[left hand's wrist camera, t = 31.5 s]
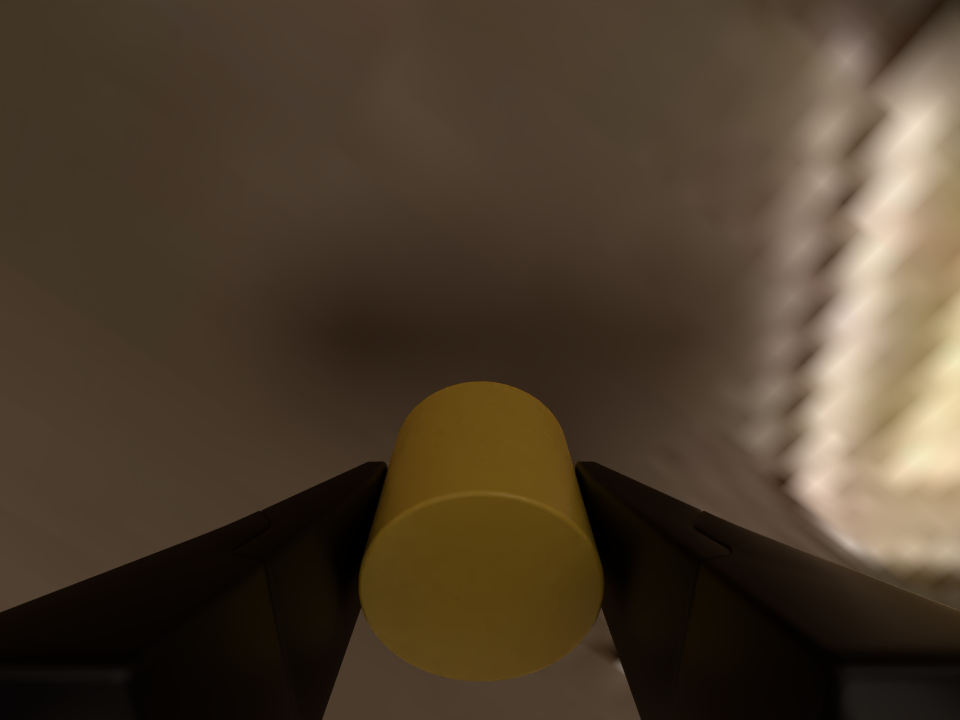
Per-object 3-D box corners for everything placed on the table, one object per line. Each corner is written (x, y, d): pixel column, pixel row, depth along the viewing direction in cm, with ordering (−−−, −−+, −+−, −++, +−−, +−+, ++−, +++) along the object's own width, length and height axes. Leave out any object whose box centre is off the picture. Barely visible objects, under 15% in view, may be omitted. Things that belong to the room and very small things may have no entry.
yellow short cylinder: (518, 349, 12) (537, 450, 8) (594, 487, 13) (643, 633, 9) (361, 427, 12) (306, 557, 8) (448, 551, 14) (436, 711, 10)
